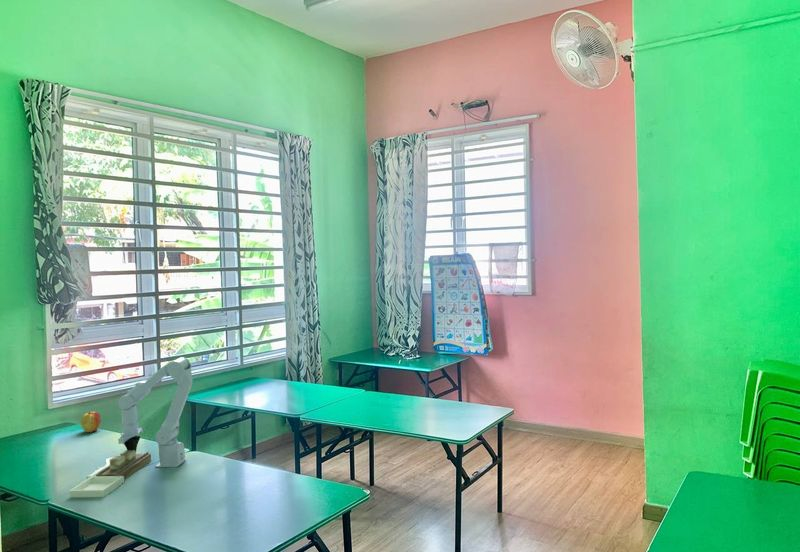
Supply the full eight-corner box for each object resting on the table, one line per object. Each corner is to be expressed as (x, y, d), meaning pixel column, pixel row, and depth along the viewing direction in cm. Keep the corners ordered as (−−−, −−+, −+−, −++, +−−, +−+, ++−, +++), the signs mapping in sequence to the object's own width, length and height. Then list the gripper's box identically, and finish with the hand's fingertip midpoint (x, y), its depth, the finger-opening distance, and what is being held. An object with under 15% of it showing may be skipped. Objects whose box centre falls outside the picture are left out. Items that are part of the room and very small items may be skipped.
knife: (112, 452, 253) (129, 451, 252) (112, 456, 253) (129, 455, 253) (72, 477, 223) (92, 475, 223) (73, 481, 223) (92, 480, 223)
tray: (124, 482, 219) (123, 475, 218) (103, 497, 206) (103, 490, 206) (92, 482, 220) (91, 476, 220) (69, 497, 207) (69, 490, 207)
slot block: (151, 460, 241) (150, 451, 241) (121, 481, 219) (120, 472, 219) (128, 460, 242) (128, 452, 242) (96, 482, 220) (96, 472, 220)
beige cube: (135, 459, 234) (135, 450, 234) (130, 463, 230) (129, 453, 230) (126, 460, 235) (125, 450, 234) (120, 463, 231) (120, 453, 230)
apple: (101, 431, 286) (100, 412, 286) (81, 435, 282) (79, 415, 281) (101, 427, 294) (99, 408, 294) (81, 430, 290) (79, 411, 289)
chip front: (125, 465, 228) (124, 455, 228) (119, 469, 224) (119, 459, 224) (116, 465, 229) (115, 455, 229) (110, 469, 225) (109, 459, 225)
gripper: (130, 417, 243) (132, 449, 244) (110, 428, 229) (112, 461, 229) (146, 417, 242) (148, 448, 243) (127, 428, 228) (129, 461, 229)
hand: (132, 455), depth 236 cm, fingers closed
